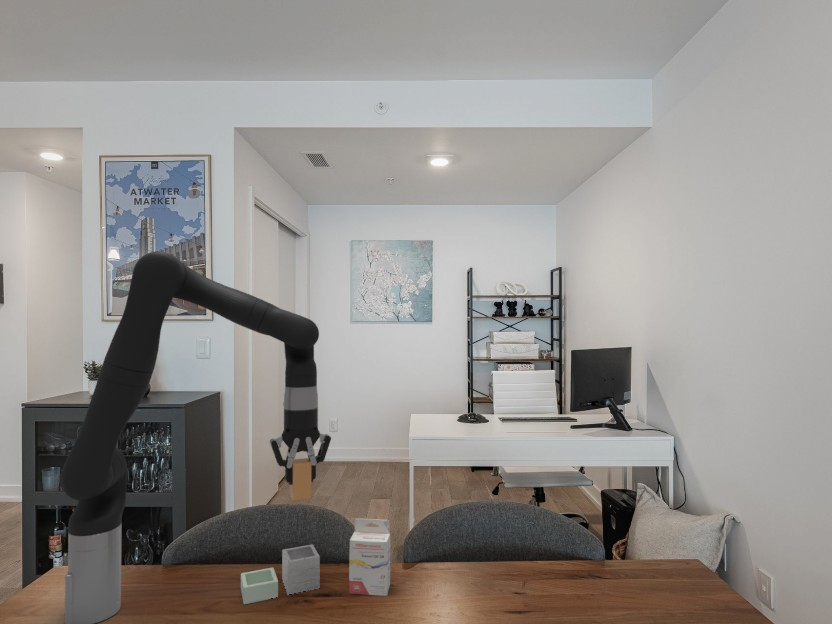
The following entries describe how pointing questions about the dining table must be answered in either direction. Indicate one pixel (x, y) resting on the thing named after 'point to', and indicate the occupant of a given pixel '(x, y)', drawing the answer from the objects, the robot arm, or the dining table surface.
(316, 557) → the upper socket
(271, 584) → the lower socket
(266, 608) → the dining table surface
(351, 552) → the ink cartridge box
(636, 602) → the dining table surface
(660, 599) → the dining table surface
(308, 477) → the plug
